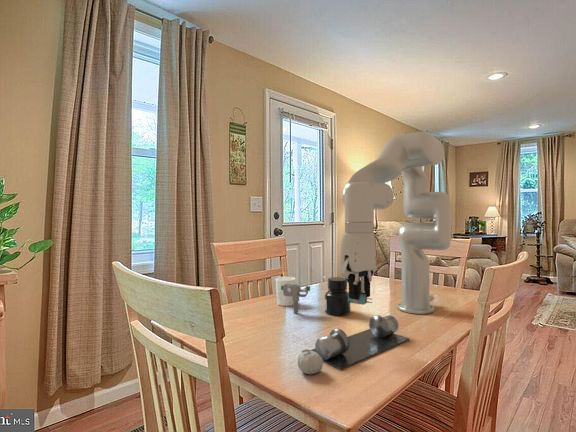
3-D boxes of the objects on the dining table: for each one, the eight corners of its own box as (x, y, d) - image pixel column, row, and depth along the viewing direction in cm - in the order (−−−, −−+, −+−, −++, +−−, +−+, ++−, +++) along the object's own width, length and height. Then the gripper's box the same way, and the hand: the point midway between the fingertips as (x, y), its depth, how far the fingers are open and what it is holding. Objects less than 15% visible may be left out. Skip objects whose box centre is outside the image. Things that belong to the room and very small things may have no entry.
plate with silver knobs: (374, 328, 106) (374, 307, 105) (409, 340, 96) (409, 317, 96) (306, 353, 88) (305, 328, 88) (340, 370, 79) (340, 342, 79)
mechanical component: (309, 315, 120) (309, 286, 120) (280, 313, 122) (280, 285, 122) (310, 312, 123) (310, 284, 123) (282, 311, 125) (282, 283, 125)
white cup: (272, 305, 133) (272, 279, 133) (280, 300, 140) (280, 275, 140) (291, 307, 130) (291, 281, 130) (298, 302, 137) (298, 277, 137)
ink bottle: (336, 307, 129) (335, 275, 129) (355, 312, 123) (355, 278, 123) (319, 312, 123) (319, 279, 122) (339, 318, 116) (339, 282, 116)
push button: (374, 302, 93) (374, 265, 92) (369, 307, 88) (368, 268, 88) (351, 299, 96) (350, 263, 96) (344, 304, 91) (344, 266, 91)
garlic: (293, 375, 77) (292, 352, 77) (301, 365, 82) (300, 343, 82) (319, 380, 74) (319, 356, 74) (325, 369, 80) (325, 346, 79)
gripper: (367, 227, 100) (368, 290, 100) (326, 229, 89) (327, 299, 90) (389, 228, 94) (390, 295, 94) (348, 230, 83) (349, 306, 84)
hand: (359, 296), depth 92 cm, fingers closed on push button, 3 cm apart
